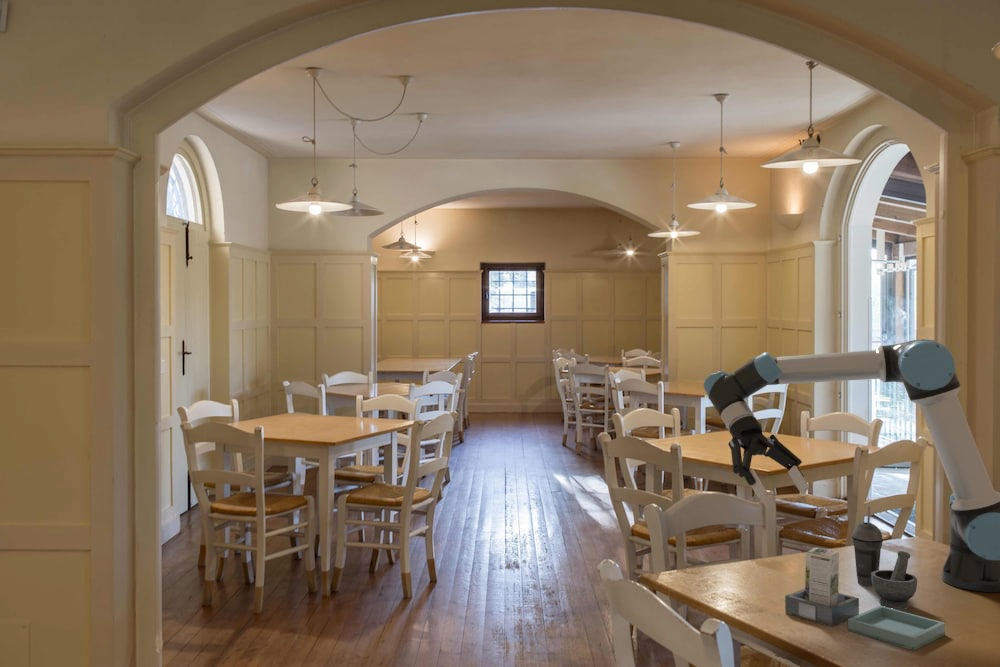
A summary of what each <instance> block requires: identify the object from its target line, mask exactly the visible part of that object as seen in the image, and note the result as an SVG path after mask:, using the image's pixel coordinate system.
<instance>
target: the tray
mask: <svg viewBox="0 0 1000 667" xmlns="http://www.w3.org/2000/svg"><path fill="white" fill-rule="evenodd" d="M847 631H848V632H851V633H854V634H858V635H861V636H864V637H867V636H868V638H870V637H872V638H871V639H874V640H877V639H878V640H877V641H880V640H881V642H885V643H887V644H891V645H893V646H898V647H901V648H903V649H908V650H909V651H910V650H911V651H914V652H915V651H916V650H918V649H920V648H922V647H924V646H926V645H928V644H930V643H931V642H934V641H936V640H937V639H940V638H942V637H943V636H945V635H946V623H945V622H943V621H939V620H936V619H932V618H928V617H925V616H920V615H917V614H913V613H909V612H905V611H902V610H900V609H891V608H887V607H884V606H882V605H879V606H876V607H874V608H871V609H869V610H866V611H865V612H864V611H863V612H862V613H859V615H857V616H854V617H852V618H849V619H848V621H847Z"/></svg>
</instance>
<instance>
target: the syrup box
mask: <svg viewBox="0 0 1000 667" xmlns="http://www.w3.org/2000/svg"><path fill="white" fill-rule="evenodd" d="M839 565H840V553H839V551H837V550H833V549H830V548H823V547H814V548H812V549H810V550H808V551H807V552H805V575H804V576H805V579H804V580H805V581H804V582H805V585H804V586H805V587H804V589H805V600H809V601H812V602H816V603H819V604H823V605H826V606H833V605H836V604H838V593H839V575H840V572H839V569H840V566H839Z"/></svg>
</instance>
